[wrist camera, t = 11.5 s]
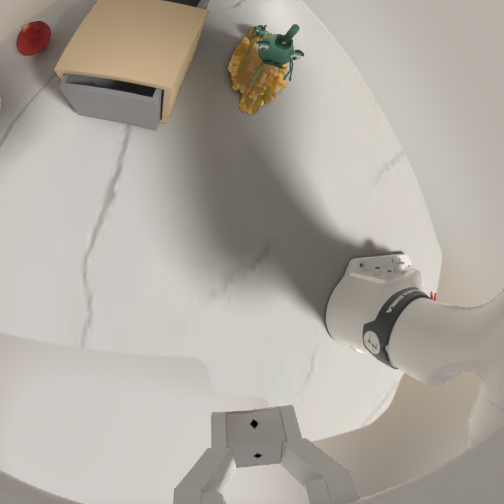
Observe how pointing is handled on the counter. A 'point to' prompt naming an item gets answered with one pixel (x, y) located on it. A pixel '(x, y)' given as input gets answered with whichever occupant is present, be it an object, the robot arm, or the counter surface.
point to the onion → (33, 38)
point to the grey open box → (118, 94)
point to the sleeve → (136, 44)
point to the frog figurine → (262, 66)
